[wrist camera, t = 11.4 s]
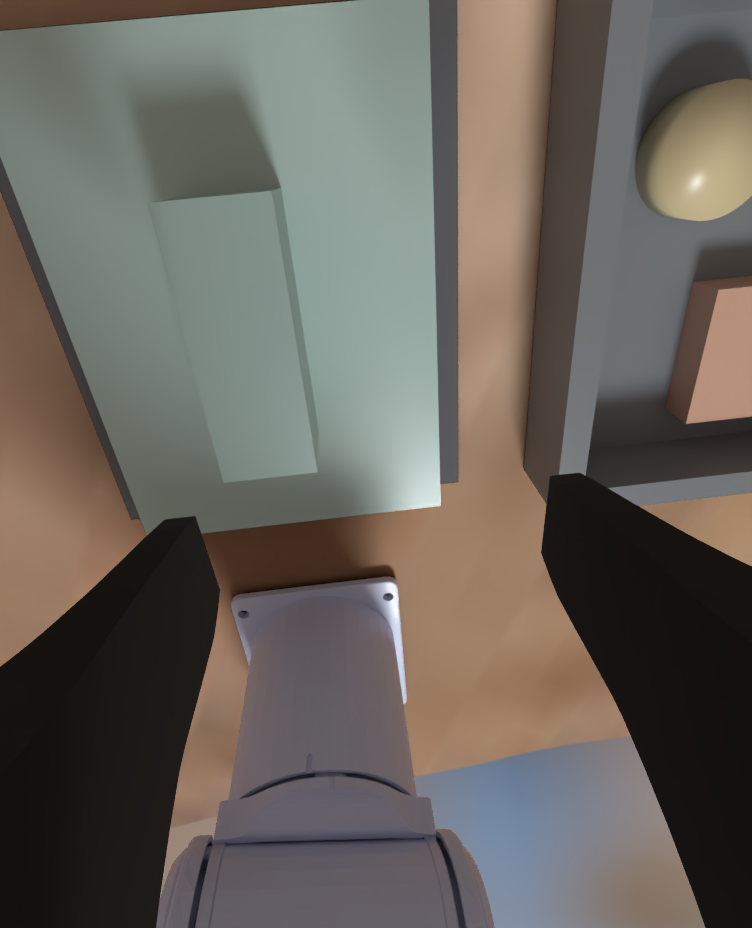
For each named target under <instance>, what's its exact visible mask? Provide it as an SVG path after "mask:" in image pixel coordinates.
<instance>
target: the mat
mask: <svg viewBox="0 0 752 928" xmlns="http://www.w3.org/2000/svg"><path fill="white" fill-rule="evenodd" d="M346 1H356V0H346ZM334 2H345V1H334ZM323 3H333V2H323ZM311 4H321V3H311ZM300 5H310V4H300ZM288 6H298V5H288ZM276 7H286V6H276ZM265 8H275V7H265ZM253 9H263V8H253ZM242 10H251V9H242ZM230 11H240V10H230ZM218 12H228V11H218ZM207 13H216V12H207ZM195 14H205V13H195ZM183 15H193V14H183ZM172 16H181V15H172ZM160 17H169V16H160ZM149 18H158V17H149ZM137 19H146V18H137ZM125 20H134V19H125ZM114 21H123V20H114ZM429 21H430V64H431V107H432V150H433V193H434V236H435V279H436V322H437V366H438V409H439V452H440V484H446V483H455V482H458V115H457V0H429ZM102 22H111V21H102ZM91 23H99V22H91ZM79 24H88V23H79ZM67 25H76V24H67ZM56 26H64V25H56ZM44 27H53V26H44ZM32 28H41V27H32ZM21 29H29V28H21ZM9 30H18V29H9ZM0 31H6V30H0ZM0 191H1V194H2V196H3V199H4V201H5V204H6V206H7V209H8V211H9V214H10V216H11V219H12V221H13V224H14V226H15V229H16V231H17V234H18V236H19V239H20V241H21V244H22V246H23V249H24V251H25V254H26V256H27V259H28V261H29V264H30V266H31V269H32V271H33V274H34V276H35V279H36V282H37V284H38V287H39V289H40V292H41V294H42V297H43V299H44V302H45V304H46V307H47V309H48V312H49V314H50V317H51V319H52V322H53V324H54V327H55V329H56V332H57V334H58V337H59V339H60V342H61V344H62V347H63V349H64V352H65V354H66V357H67V359H68V362H69V364H70V367H71V369H72V372H73V374H74V377H75V379H76V382H77V384H78V387H79V389H80V392H81V394H82V397H83V399H84V402H85V405H86V407H87V410H88V412H89V415H90V417H91V420H92V422H93V425H94V427H95V430H96V432H97V435H98V437H99V440H100V442H101V445H102V447H103V450H104V452H105V455H106V457H107V460H108V462H109V465H110V467H111V470H112V472H113V475H114V477H115V480H116V482H117V485H118V487H119V490H120V492H121V495H122V497H123V500H124V502H125V505H126V507H127V510H128V512H129V515H130V517H131V520H134V519H140V517H139V514H138V512H137V509H136V506H135V504H134V501H133V499H132V496H131V494H130V491H129V488H128V486H127V483H126V481H125V478H124V475H123V473H122V470H121V468H120V465H119V462H118V460H117V457H116V455H115V452H114V450H113V447H112V444H111V442H110V439H109V437H108V434H107V431H106V429H105V426H104V424H103V421H102V419H101V416H100V413H99V411H98V408H97V406H96V403H95V400H94V398H93V395H92V393H91V390H90V387H89V385H88V382H87V380H86V377H85V375H84V372H83V369H82V367H81V364H80V362H79V359H78V356H77V354H76V351H75V349H74V346H73V344H72V341H71V338H70V336H69V333H68V331H67V328H66V325H65V323H64V320H63V318H62V315H61V312H60V310H59V307H58V305H57V302H56V300H55V297H54V294H53V292H52V289H51V287H50V284H49V281H48V279H47V276H46V274H45V271H44V269H43V266H42V263H41V261H40V258H39V256H38V253H37V250H36V248H35V245H34V243H33V240H32V237H31V235H30V232H29V230H28V227H27V225H26V222H25V219H24V217H23V214H22V212H21V209H20V206H19V204H18V201H17V199H16V196H15V194H14V191H13V188H12V186H11V183H10V181H9V178H8V175H7V173H6V170H5V168H4V165H3V162H2V160H1V157H0Z"/></svg>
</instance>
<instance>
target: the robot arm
mask: <svg viewBox="0 0 752 928" xmlns="http://www.w3.org/2000/svg"><path fill="white" fill-rule="evenodd" d="M541 554H542V556H543V559H544V562H545V565H546V567H547V570H548V573H549V575H550V578H551V580H552V583H553V585H554V588H555V590H556V593H557V595H558V597H559V599H560V601H561V603H562V605H563V607H564V609H565V610H566V612H567V614H568V616H569V618H570V620H571V622H572V623H573V625H574V627H575V629H576V631H577V633H578V634H579V636H580V638H581V640H582V642H583V643H584V645H585V647H586V649H587V651H588V653H589V654H590V656H591V658H592V660H593V662H594V663H595V665H596V667H597V669H598V671H599V672H600V674H601V676H602V678H603V680H604V681H605V683H606V685H607V687H608V689H609V691H610V692H611V694H612V696H613V698H614V700H615V702H616V704H617V706H618V708H619V710H620V712H621V714H622V716H623V719H624V721H625V723H626V726H627V728H628V730H629V733H630V735H631V737H632V740H633V742H634V744H635V747H636V749H637V751H638V754H639V756H640V758H641V761H642V763H643V765H644V767H645V770H646V772H647V775H648V777H649V780H650V782H651V785H652V787H653V790H654V792H655V794H656V797H657V800H658V802H659V804H660V807H661V809H662V812H663V815H664V817H665V820H666V822H667V824H668V827H669V829H670V832H671V835H672V838H673V840H674V843H675V846H676V848H677V851H678V853H679V856H680V859H681V861H682V864H683V867H684V869H685V872H686V875H687V877H688V880H689V883H690V885H691V888H692V891H693V893H694V896H695V899H696V901H697V905H698V907H699V910H700V913H701V916H702V919H703V922H704V925H705V927H706V928H752V566H749V565H747V564H745V563H743V562H741V561H739V560H737V559H735V558H733V557H731V556H729V555H727V554H725V553H723V552H721V551H719V550H717V549H715V548H713V547H711V546H709V545H707V544H705V543H703V542H701V541H699V540H697V539H696V538H694V537H692V536H690V535H688V534H686V533H684V532H683V531H681V530H679V529H677V528H675V527H674V526H672V525H670V524H668V523H666V522H665V521H663V520H661V519H659V518H658V517H656V516H654V515H652V514H651V513H649V512H647V511H646V510H644V509H642V508H640V507H639V506H637V505H635V504H634V503H632V502H630V501H629V500H627V499H625V498H624V497H622V496H620V495H619V494H617V493H615V492H613V491H612V490H610V489H608V488H607V487H605V486H603V485H602V484H600V483H598V482H596V481H595V480H593V479H591V478H589V477H587V476H585V475H583V474H581V473H571V474H562V475H554V476H550V479H549V488H548V497H547V506H546V515H545V524H544V533H543V541H542V550H541ZM386 593H391V594H390V595H384V594H386ZM219 594H220V589H219V586H218V583H217V580H216V577H215V574H214V571H213V568H212V565H211V562H210V559H209V556H208V553H207V550H206V547H205V544H204V540H203V537H202V534H201V531H200V528H199V525H198V522H197V519H196V516H190V517H181V518H172V519H165V520H164V521H163V522H161V523H160V524H159V525H158V526H157V527H156V528H155V529H154V530H153V531H151V532H150V533H149V534H148V535H147V536H146V537H145V538H144V539H143V540H142V541H141V542H140V543H139V544H138V545H137V546H136V547H135V548H134V549H133V550H132V551H131V552H130V553H129V554H128V555H127V556H126V557H125V558H124V559H123V560H122V561H121V562H120V563H119V564H118V565H117V566H115V567H114V568H113V569H112V570H111V571H110V572H109V573H108V574H107V575H106V576H105V577H104V578H103V579H102V580H101V581H100V582H99V583H98V584H97V585H96V586H95V587H94V588H93V589H92V590H90V591H89V592H88V593H87V594H86V595H85V596H84V597H83V598H82V599H80V600H79V601H78V602H77V603H76V604H75V605H74V606H73V607H71V608H70V609H69V610H68V611H67V612H66V613H65V614H64V615H62V616H61V617H60V618H59V619H58V620H57V621H56V622H54V623H53V624H52V625H51V626H50V627H49V628H48V629H47V630H45V631H44V632H43V633H42V634H41V635H40V636H38V637H37V638H36V639H35V640H34V641H32V642H31V643H30V644H29V645H27V646H26V647H25V648H24V649H23V650H21V651H20V652H19V653H18V654H16V655H15V656H14V657H12V658H11V659H10V660H9V661H7V662H6V663H5V664H3V665H2V666H1V667H0V928H494V923H493V918H492V914H491V909H490V905H489V901H488V897H487V893H486V890H485V886H484V883H483V880H482V877H481V875H480V872H479V870H478V867H477V865H476V863H475V861H474V859H473V858H472V856H471V855H470V853H469V852H468V851H467V850H466V848H465V847H464V846H463V845H462V843H461V841H460V840H459V838H458V837H457V836H456V834H455V833H453V832H452V831H451V830H447V829H435V825H434V818H433V812H432V807H431V800H430V798H428V797H417V795H416V787H415V780H414V773H413V767H412V760H411V753H410V746H409V739H408V732H407V725H406V718H405V711H404V704H405V703H406V701H407V693H406V681H405V669H404V657H403V645H402V633H401V621H400V609H399V597H398V586H397V582H396V580H395V579H394V578H392V577H378V578H370V579H362V580H354V581H345V582H337V583H329V584H320V585H312V586H304V587H295V588H287V589H279V590H270V591H262V592H254V593H245V594H239V595H236V596H235V597H233V599H232V602H231V609H232V612H233V616H234V619H235V622H236V625H237V628H238V632H239V635H240V638H241V641H242V645H243V648H244V651H245V654H246V657H247V661H248V664H249V673H248V679H247V686H246V692H245V698H244V705H243V711H242V718H241V724H240V730H239V737H238V743H237V749H236V756H235V762H234V768H233V775H232V781H231V788H230V794H229V800H226V801H222V802H220V805H219V811H218V817H217V823H216V829H215V835H214V840H213V837H212V835H204V836H203V835H200V836H197V837H194V838H193V839H192V840H191V842H190V843H189V845H188V847H187V848H186V849H185V850H184V851H183V852H182V853H181V854H180V855H179V856H178V857H177V858H176V860H175V861H174V863H173V864H172V866H171V869H170V871H169V873H168V876H167V879H166V882H165V885H164V888H163V892H162V895H161V898H160V892H161V885H162V878H163V872H164V865H165V858H166V851H167V844H168V837H169V830H170V824H171V818H172V812H173V806H174V800H175V794H176V788H177V782H178V776H179V771H180V766H181V762H182V757H183V753H184V749H185V744H186V741H187V737H188V733H189V730H190V726H191V722H192V718H193V715H194V711H195V707H196V704H197V700H198V696H199V692H200V689H201V685H202V681H203V678H204V674H205V670H206V666H207V662H208V659H209V655H210V651H211V647H212V643H213V639H214V634H215V627H216V620H217V612H218V603H219ZM242 611H247V612H242ZM159 901H160V902H159Z"/></svg>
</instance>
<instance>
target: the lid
mask: <svg viewBox="0 0 752 928" xmlns="http://www.w3.org/2000/svg"><path fill="white" fill-rule="evenodd" d="M0 157H1V160H2V162H3V165H4V168H5V170H6V173H7V175H8V178H9V181H10V183H11V186H12V188H13V191H14V194H15V196H16V199H17V201H18V204H19V206H20V209H21V212H22V214H23V217H24V219H25V222H26V225H27V227H28V230H29V232H30V235H31V237H32V240H33V243H34V245H35V248H36V250H37V253H38V256H39V258H40V261H41V263H42V266H43V269H44V271H45V274H46V276H47V279H48V281H49V284H50V287H51V289H52V292H53V294H54V297H55V300H56V302H57V305H58V307H59V310H60V312H61V315H62V318H63V320H64V323H65V325H66V328H67V331H68V333H69V336H70V338H71V341H72V344H73V346H74V349H75V351H76V354H77V356H78V359H79V362H80V364H81V367H82V369H83V372H84V375H85V377H86V380H87V382H88V385H89V387H90V390H91V393H92V395H93V398H94V400H95V403H96V406H97V408H98V411H99V413H100V416H101V419H102V421H103V424H104V426H105V429H106V431H107V434H108V437H109V439H110V442H111V444H112V447H113V450H114V452H115V455H116V457H117V460H118V462H119V465H120V468H121V470H122V473H123V475H124V478H125V481H126V483H127V486H128V488H129V491H130V494H131V496H132V499H133V501H134V504H135V506H136V509H137V512H138V514H139V517H140V519H141V522H142V525H143V527H144V530H145V532H146V535H148V534H149V533H150V532H151V531H153V530H154V529H155V528H156V527H157V526H158V525H159V524H160V523H161V522H163V521H164V520H165V519H172V518H181V517H190V516H196V519H197V522H198V525H199V528H200V531H201V534H202V533H211V532H219V531H228V530H237V529H245V528H254V527H262V526H271V525H280V524H288V523H297V522H306V521H314V520H323V519H331V518H340V517H349V516H357V515H366V514H374V513H383V512H392V511H400V510H409V509H418V508H426V507H435V506H441V495H440V452H439V409H438V366H437V322H436V279H435V236H434V193H433V150H432V107H431V64H430V21H429V0H356V1H345V2H333V3H321V4H310V5H298V6H286V7H275V8H263V9H251V10H240V11H228V12H216V13H205V14H193V15H181V16H169V17H158V18H146V19H134V20H123V21H111V22H99V23H88V24H76V25H64V26H53V27H41V28H29V29H18V30H6V31H0Z"/></svg>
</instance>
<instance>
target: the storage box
mask: <svg viewBox="0 0 752 928" xmlns="http://www.w3.org/2000/svg"><path fill="white" fill-rule="evenodd" d="M524 471H525V472H526V474H527V475H528V477H529V478H530V480H531V481H532V483H533V484H534V486H535V487H536V489H537V490H538V492H539V493H540V495H541V496H542V498H543V499H544V501H545V502H546V504H547V497H548V488H549V479H550V476H554V475H562V474H571V473H581V474H583V475H585V476H587V477H589V478H591V479H593V480H595V481H596V482H598V483H600V484H602V485H603V486H605V487H607V488H608V489H610V490H612V491H613V492H615V493H617V494H619V495H620V496H622V497H624V498H625V499H627V500H629V501H630V502H632V503H634V504H635V505H637V506H643V505H651V504H660V503H668V502H677V501H685V500H694V499H702V498H711V497H719V496H728V495H736V494H745V493H752V0H558V3H557V17H556V30H555V44H554V58H553V72H552V86H551V100H550V114H549V128H548V142H547V155H546V169H545V183H544V197H543V211H542V225H541V239H540V253H539V266H538V280H537V294H536V308H535V322H534V336H533V350H532V364H531V378H530V391H529V405H528V419H527V433H526V447H525V461H524Z"/></svg>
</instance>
